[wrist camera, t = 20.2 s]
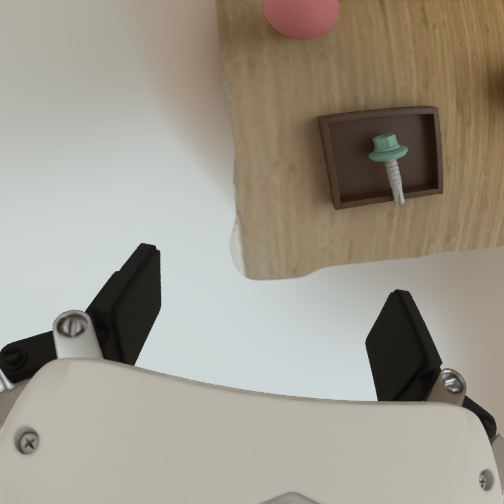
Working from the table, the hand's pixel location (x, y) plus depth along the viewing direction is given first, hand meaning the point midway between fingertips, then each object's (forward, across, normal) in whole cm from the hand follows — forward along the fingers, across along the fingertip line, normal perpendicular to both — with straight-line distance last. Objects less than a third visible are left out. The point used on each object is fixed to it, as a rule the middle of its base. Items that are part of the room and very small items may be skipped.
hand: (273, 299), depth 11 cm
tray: (+28, -13, -3) cm, 31 cm away
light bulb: (+28, +1, -17) cm, 33 cm away
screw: (+28, -14, -2) cm, 31 cm away
